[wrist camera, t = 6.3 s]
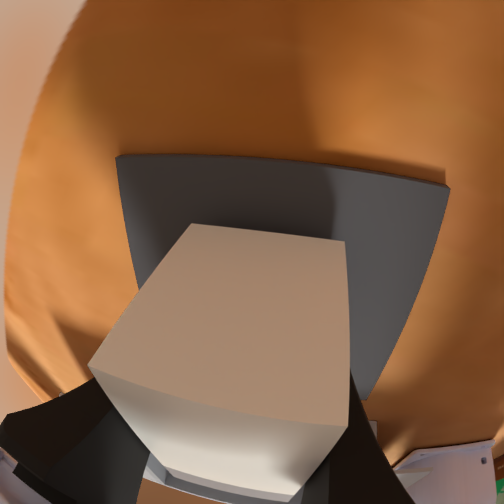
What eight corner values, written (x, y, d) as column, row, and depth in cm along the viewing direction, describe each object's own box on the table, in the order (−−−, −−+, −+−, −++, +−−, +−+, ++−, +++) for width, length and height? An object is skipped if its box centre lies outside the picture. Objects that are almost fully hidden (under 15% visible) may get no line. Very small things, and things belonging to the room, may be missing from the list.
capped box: (344, 241, 9) (348, 426, 4) (306, 393, 14) (287, 502, 9) (191, 223, 10) (87, 365, 5) (211, 376, 15) (173, 477, 10)
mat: (446, 185, 9) (450, 188, 8) (365, 394, 15) (366, 400, 14) (121, 154, 11) (115, 157, 10) (162, 360, 17) (160, 365, 16)
